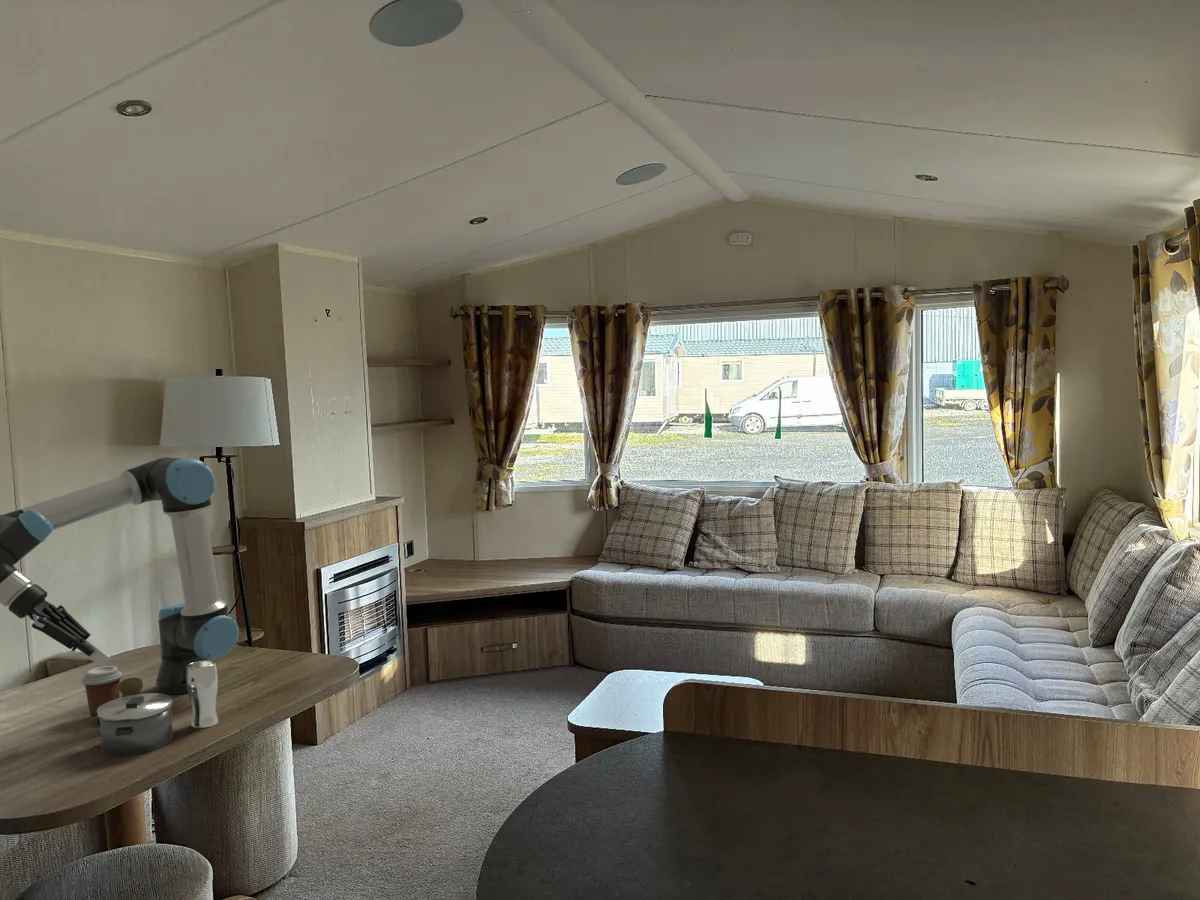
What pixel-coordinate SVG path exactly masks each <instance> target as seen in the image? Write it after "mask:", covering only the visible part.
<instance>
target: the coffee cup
mask: <svg viewBox="0 0 1200 900" xmlns="http://www.w3.org/2000/svg"><path fill="white" fill-rule="evenodd" d="M123 676H124V675H123V672H122V671H119V669H118V667H117V666H114V665H102V666H101V667H100V666H99V667H94V668H91V669H89V670H87V671H86V672H85V675H84V677H82V679H81V683H82V684H83V685H84V687H85V693H86V698H87V704H88V710H89V712H88V713H89V719H90V720H91V721H92V719H93V718H94V717H95V716H93V715H92V713H93V711H95V710H96V709H97V708H98V707H99V706H100V705H101V704H105V703H107V702H109V701H112V700H115V699H118V698H120V693H121V692H120V689H119V685H120V683H121V679H122V678H123Z"/></svg>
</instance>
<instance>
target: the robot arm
mask: <svg viewBox="0 0 1200 900" xmlns="http://www.w3.org/2000/svg"><path fill="white" fill-rule="evenodd" d="M215 488H216V477H215V473H214V472H213V470H212V469H211V468H210V466H209V465H208V464H206V463H205V462H203V461H201V460H199V459H195V458H191V457H170V456H168V457H166V456H165V457H161V458H156V459H154V460H151V461H148V462H145V463H143V464H140V465H137V466H134V467H132V468H130V469H126V470H123V471H122V472H121V473H120V475H119V476H117V477H114V478H111V479H108V480H105V481H102V482H99V483H96V484H93V485H89V486H86V487H83V488H80V489H78V490H75V491H72V492H69V493H65V494H61V495H59V496H56V497H53V498H51V499H50V498H49V499H47V500H43V501H41V502H37V503H35V504H33V505H29V506H26V507H22V508H20V509H18V510H13V511H11V512H7V513H4V514H0V604H1V605H2V606H4V607H8V610H9V611H10V612H11V613H12V614H13V615H14V616H16V617H18V618H19V619H24V618H26V617H27V616H28V617H29V619H30V620H31V621H33V623H32V624H31V627H32V628H33V629H35V630H37V631H39V632H42V633H43V634H44V635H46V636H48V637H50V638H52V639H53V640H55V641H56V642H58V643H60V644H61V645H62V646H64V647H66V648H67V649H69V650H71V651H72V652H75V651H77V650H78V651H80V652H81V653H82V654H83V655H85V656H86V657H87V658H89V659H90V660H91V661H92V662H94V663H95V664H97V665H98V666H99V667H103V666H104V664H105V663H106V662H107V661H108V659H110V658H111V657H112V655H111V654H109V653H108V652H107V651H105V650H104V649H103V648H102V647H101V646H99V645H98V644H96V643H95V642H94V641H93V640H91V639H90V637H91V635H92V634H91V633H90V632H88V631H87V630H86V628H85V627H83V626H82V625H81V624H80V623H79V622H78V621H77V620H76V619H75V618H74V617H73V616H72V615H71V614H70V613H69V612H67V610H66V609H65V607H64V606H62V605H61V604H60V605H58V607H57V606H56V605H54V604H53V603H51V602H48V601H47V600H46V598H47V597H48V592H47V591H46V590H45V589H43V588H42V587H41V586H40V585H38V583H37V584H35V583H33V580H32V579H31V578H30V577H29V576H28V575H25V574H24V573H23V572H22V571H20V570H19V569H18V568H16V567H15V565H16V564H17V563H18V562H19V561H21V560H22V559H23V558H25V556H26V555H28V554H29V553H31V552H32V551H33V550H34V549H36V547H37V546H38V545H40V544H41V543H42V542H44V541H45V540H46V539H47V538H48V537H49V536H50V535H51V534H52V532H53V531H54V530H57V529H58V530H59V529H60V528H64V527H66V526H69V525H72V524H75V523H77V522H81V521H83V520H86V519H90V518H92V517H95V516H98V515H101V514H104V513H106V512H109V511H112V510H116V509H118V508H121V507H123V506H126V505H129V504H132V505H135V506H139V505H141V504H144V503H148V502H153V501H161V506H162V512H163V514H165V515H166V516H168V517H169V518H170V519H171V520H170V521H171V526H172V532H173V539H174V543H175V544H174V545H175V549H176V551H175V552H176V558H177V561H178V562H177V563H178V567H179V575H180V579H181V580H180V581H181V586H182V593H183V598H184V602H182V603H176V604H172V605H168V606H165V607H162V608H161V609H160V610H159V611H158V620H157V621H158V622H157V623H158V630H159V631H158V633H159V641H160V642H159V643H160V644H159V645H160V646H159V647H160V655H161V657H160V659H161V660H160V661H161V662H160V666H159V670H158V673H157V678H156V679H155V690H156V692H157V693H161V694H167V695H170V694H171V695H173V694H177V695H178V694H185V693H188V689H187V665H188V664H190V663H193V662H197V661H203V660H210V659H213V660H214V659H219V658H222V657H224V656H225V655H228V653H230V652H231V651H232V650H233V648H234V646H235V645H236V644H237V642H238V639H239V635H240V629H239V626H238V623H237V622H236V621H235V619H234V618H233V617H231V616H230V614H229V613H230V612H229V609H228V603H227V601H225V600H223V599H222V598H221V597H220V590H219V585H218V578H217V573H216V566H215V560H214V559H215V558H214V554H213V548H212V547H213V546H212V542H211V541H212V540H211V535H210V529H209V523H208V518H207V516H208V515H207V511H208V510H209V509H210V508H211V507H212V501H211V497H212V494H213V492H214V491H215Z"/></svg>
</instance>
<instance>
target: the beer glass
mask: <svg viewBox="0 0 1200 900" xmlns="http://www.w3.org/2000/svg"><path fill="white" fill-rule="evenodd" d="M218 677H219V676H218V669H217V662H216V661H215V660H210V659H209V660H203V661H197V662H193V663H190V664H188V665H187V689H188V692H187V694H188V698H189V701H190V706H191V710H192V711H191V712H192V717H191V728H194V729H206V728H210V727H214V726H215V725H218V723H219V717H218V713H217V696H218V688H219V687H218V686H219V678H218Z"/></svg>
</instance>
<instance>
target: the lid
mask: <svg viewBox="0 0 1200 900" xmlns="http://www.w3.org/2000/svg"><path fill="white" fill-rule="evenodd" d="M172 706H173V696H171V695H170V694H165V693H160V692H156V693H155V692H153V693H152V692H151V693H149V692H148V693H141V694H137V695H131V696H126V697H122V696H121V697H119V698H118V699H115V700H112V701H109V702H107V703H105V704H101V705H100V706H99V707H98V708H97V709H96V710H95V711H93V713H92V715H93V716H97V717H98V718H99V719H100V720H103V721H111V722H120V721H131V720H137V719H142V718H146V717H150V716H154V715H156V714H159V713H162V712H164V711H166V710H167V709H169V708H170V707H171V708H172Z"/></svg>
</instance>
